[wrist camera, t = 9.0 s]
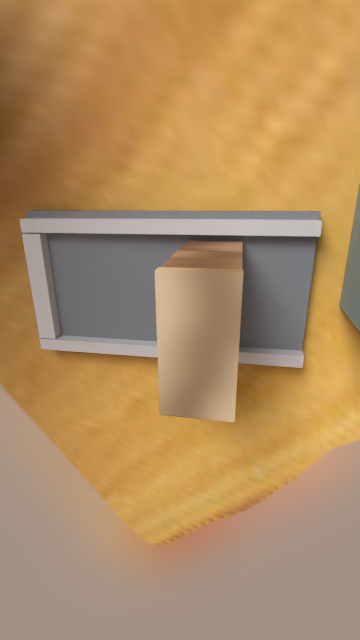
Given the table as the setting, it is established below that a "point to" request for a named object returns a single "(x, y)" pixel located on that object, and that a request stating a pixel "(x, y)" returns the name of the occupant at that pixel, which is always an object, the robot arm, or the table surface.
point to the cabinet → (353, 273)
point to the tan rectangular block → (199, 329)
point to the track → (139, 277)
